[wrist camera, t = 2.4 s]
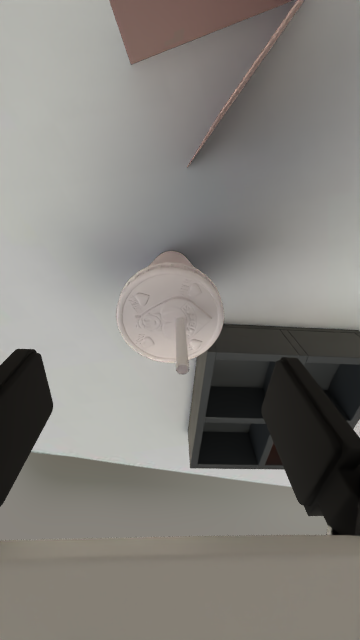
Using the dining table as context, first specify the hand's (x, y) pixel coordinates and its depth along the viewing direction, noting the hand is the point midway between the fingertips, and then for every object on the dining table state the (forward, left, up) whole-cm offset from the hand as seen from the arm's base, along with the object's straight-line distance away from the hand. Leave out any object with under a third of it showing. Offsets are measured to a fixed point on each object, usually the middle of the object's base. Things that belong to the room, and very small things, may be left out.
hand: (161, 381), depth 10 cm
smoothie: (0, 0, -15) cm, 15 cm away
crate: (-12, +14, -15) cm, 24 cm away
